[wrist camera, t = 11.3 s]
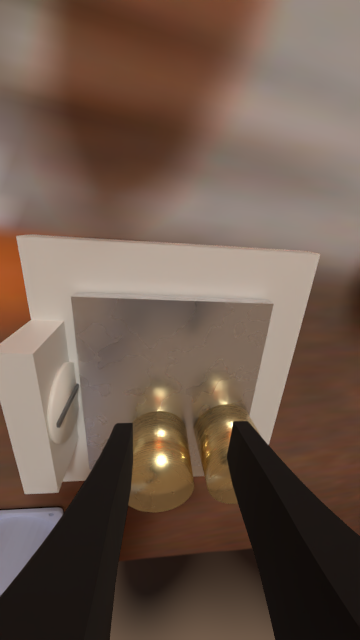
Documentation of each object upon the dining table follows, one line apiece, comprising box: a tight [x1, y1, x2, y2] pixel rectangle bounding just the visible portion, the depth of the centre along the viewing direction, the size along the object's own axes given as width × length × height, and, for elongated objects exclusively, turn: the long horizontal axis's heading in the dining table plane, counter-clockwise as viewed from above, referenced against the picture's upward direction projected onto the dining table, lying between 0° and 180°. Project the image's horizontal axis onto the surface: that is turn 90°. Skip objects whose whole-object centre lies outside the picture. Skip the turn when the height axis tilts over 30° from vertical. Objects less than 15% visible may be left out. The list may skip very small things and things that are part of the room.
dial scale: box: [0, 235, 320, 494], centre depth 17 cm, size 18×20×6 cm
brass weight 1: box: [128, 411, 194, 512], centre depth 16 cm, size 4×4×4 cm
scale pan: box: [71, 292, 274, 470], centre depth 17 cm, size 12×14×1 cm
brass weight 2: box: [194, 404, 261, 504], centre depth 16 cm, size 4×4×4 cm
